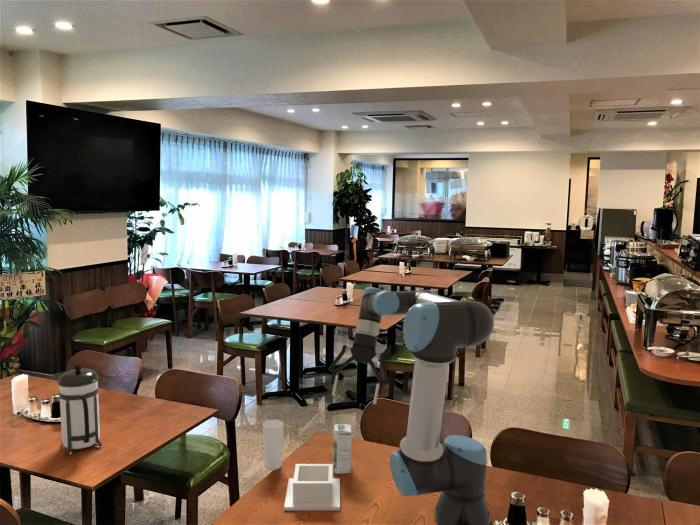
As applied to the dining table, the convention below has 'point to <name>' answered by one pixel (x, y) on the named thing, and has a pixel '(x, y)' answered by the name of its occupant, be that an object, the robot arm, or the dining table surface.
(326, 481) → the holder
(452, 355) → the robot arm
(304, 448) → the dining table surface
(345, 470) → the syrup box
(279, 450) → the drinking glass
